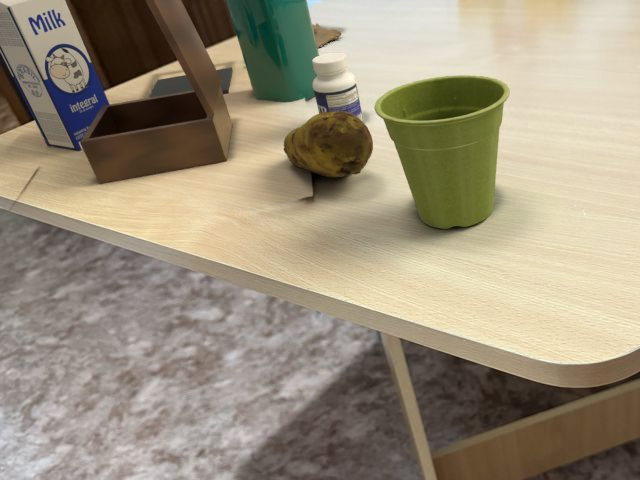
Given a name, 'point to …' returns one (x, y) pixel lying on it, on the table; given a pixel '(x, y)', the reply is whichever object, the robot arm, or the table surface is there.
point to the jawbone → (324, 35)
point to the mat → (187, 84)
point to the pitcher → (276, 47)
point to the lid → (188, 50)
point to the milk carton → (51, 69)
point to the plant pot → (447, 144)
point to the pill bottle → (335, 85)
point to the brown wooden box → (156, 136)
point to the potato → (330, 144)
